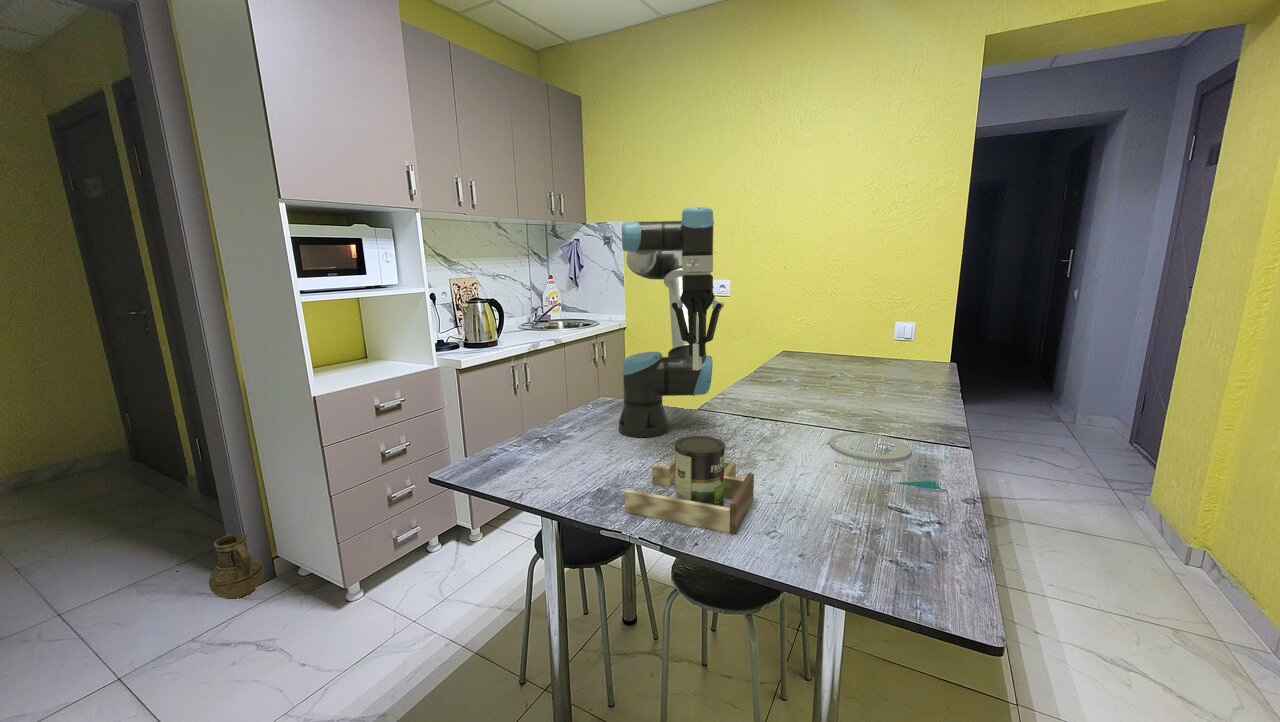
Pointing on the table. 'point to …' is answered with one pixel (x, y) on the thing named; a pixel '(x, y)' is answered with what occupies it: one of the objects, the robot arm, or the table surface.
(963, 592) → the table surface
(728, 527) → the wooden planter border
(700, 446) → the coffee can
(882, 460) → the place mat
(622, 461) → the table surface
